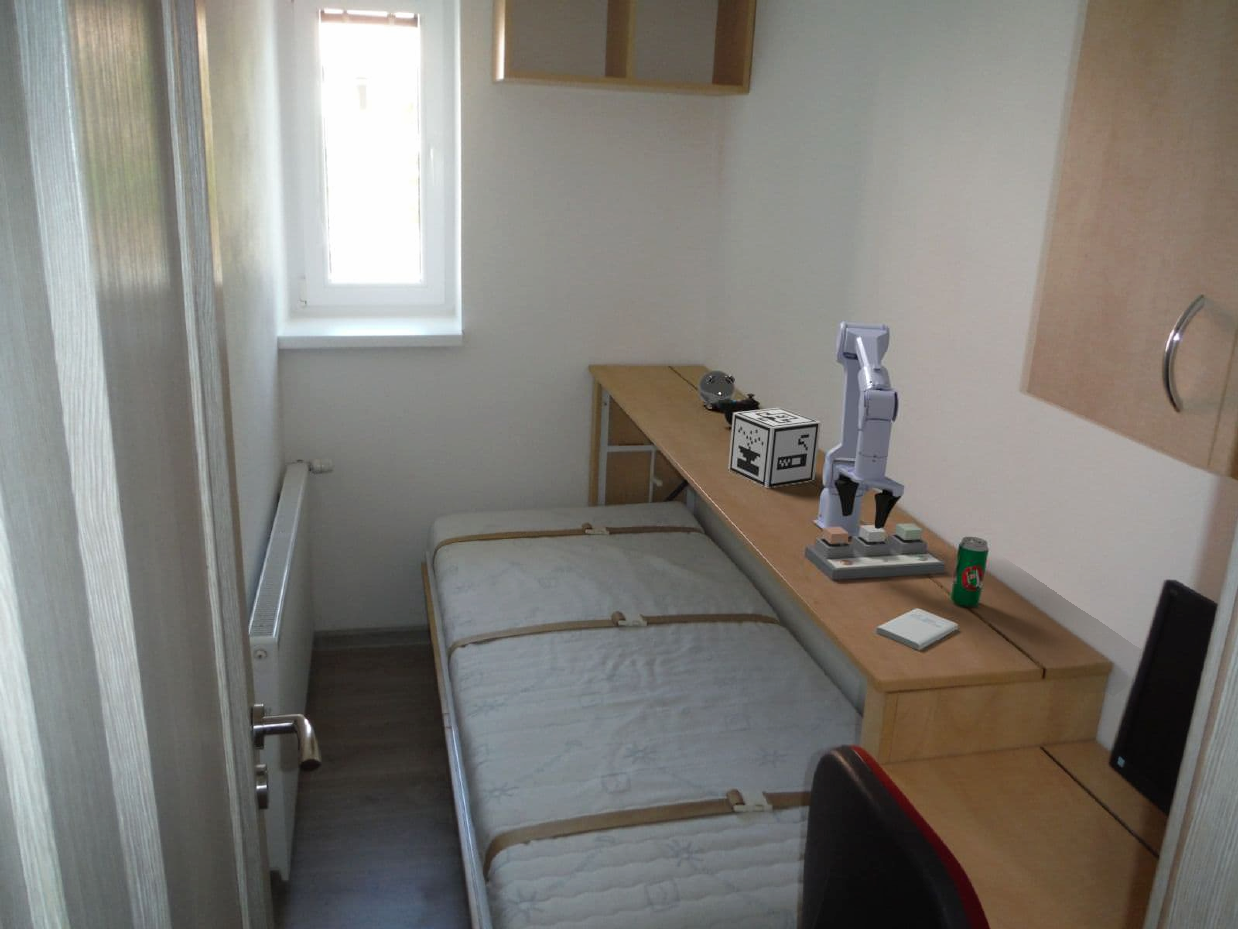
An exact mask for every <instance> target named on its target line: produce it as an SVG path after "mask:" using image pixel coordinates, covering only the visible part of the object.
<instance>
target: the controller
mask: <svg viewBox="0 0 1238 929" xmlns="http://www.w3.org/2000/svg"><path fill="white" fill-rule="evenodd" d="M746 395H747V396H748V397H747V398H746V399H741V398H739V399H732V400H719V401H718V403H717V406H716V407H717V408H718V409H719V410H720V411H722V412H724V418H725V420H726V422H727V423H728V425H730V426H731V427H732V420H733V413H735V412H744V411H753V410H761V409H760V406H759V405H760V404H761V403H760V402H759V401H758V400H756V399H755V398H754V397H755V394H754V393H747V394H746Z"/></svg>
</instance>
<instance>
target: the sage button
mask: <svg viewBox="0 0 1238 929" xmlns="http://www.w3.org/2000/svg"><path fill="white" fill-rule="evenodd" d="M895 534H897V535H898V536H900V537H901V538H903V539H904V540H914V539H922V536H923V535H922V534H923V529H922V528H920V526H917V525H916V524H915V523H913V522H911V523H907V522H906V523H896V527H895Z"/></svg>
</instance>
